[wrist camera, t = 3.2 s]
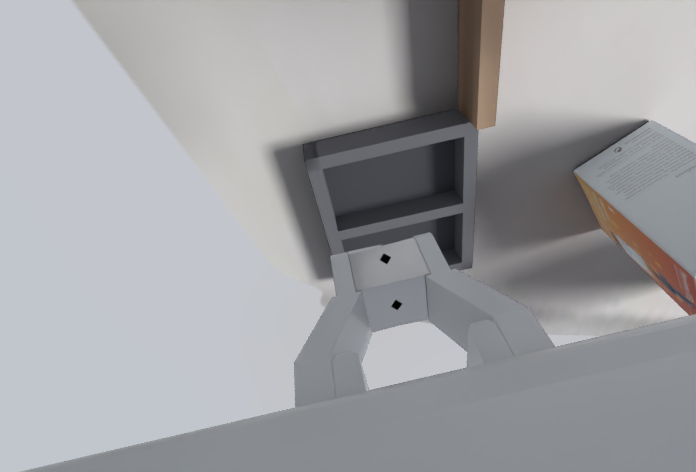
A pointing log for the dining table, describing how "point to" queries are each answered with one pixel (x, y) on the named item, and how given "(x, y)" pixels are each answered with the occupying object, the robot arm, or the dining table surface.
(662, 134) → the small box
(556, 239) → the dining table surface
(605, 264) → the dining table surface
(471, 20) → the lane walls
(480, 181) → the dining table surface
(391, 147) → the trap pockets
